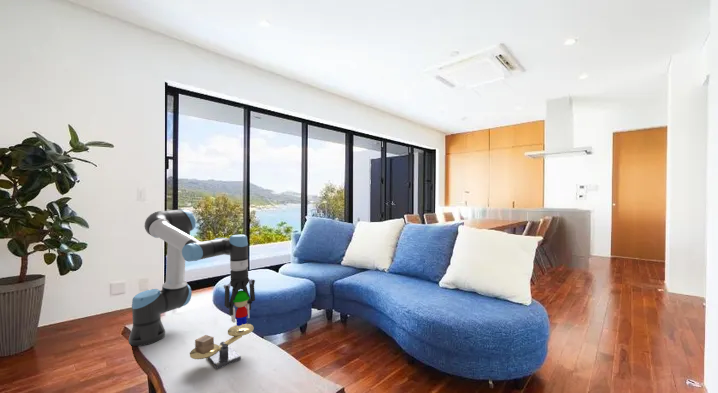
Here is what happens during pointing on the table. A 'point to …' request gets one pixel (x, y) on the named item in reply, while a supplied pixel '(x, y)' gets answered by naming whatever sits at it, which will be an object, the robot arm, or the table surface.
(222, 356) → the balance
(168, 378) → the table surface
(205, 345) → the walnut block
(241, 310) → the toy
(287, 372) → the table surface
